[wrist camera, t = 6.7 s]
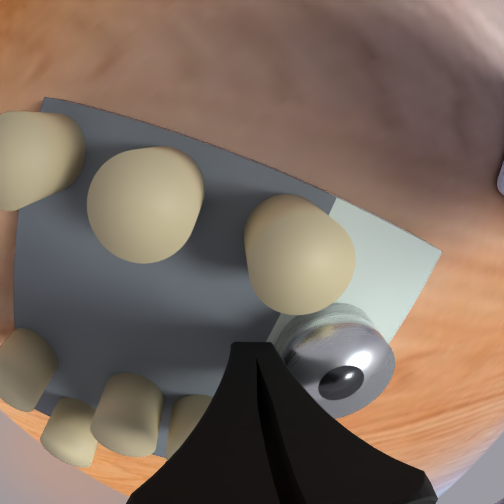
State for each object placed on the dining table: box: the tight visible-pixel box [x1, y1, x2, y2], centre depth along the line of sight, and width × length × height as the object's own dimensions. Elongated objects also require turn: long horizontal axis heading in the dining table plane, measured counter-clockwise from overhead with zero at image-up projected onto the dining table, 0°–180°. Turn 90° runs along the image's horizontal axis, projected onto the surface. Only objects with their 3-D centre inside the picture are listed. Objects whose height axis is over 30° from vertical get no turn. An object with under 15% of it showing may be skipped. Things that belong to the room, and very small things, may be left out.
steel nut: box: [275, 303, 395, 419], centre depth 10 cm, size 4×4×2 cm
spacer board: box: [0, 97, 442, 468], centre depth 11 cm, size 15×15×4 cm
